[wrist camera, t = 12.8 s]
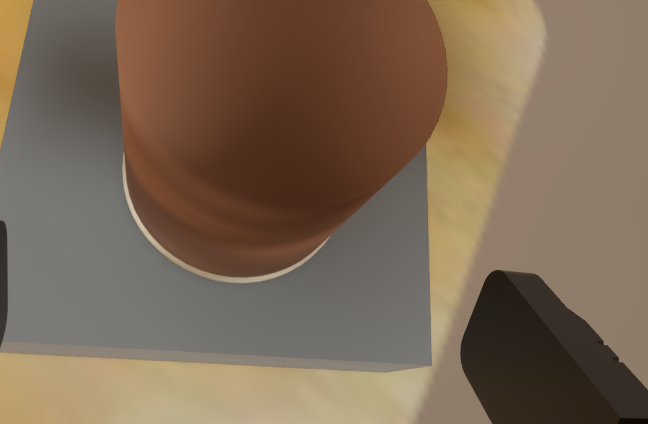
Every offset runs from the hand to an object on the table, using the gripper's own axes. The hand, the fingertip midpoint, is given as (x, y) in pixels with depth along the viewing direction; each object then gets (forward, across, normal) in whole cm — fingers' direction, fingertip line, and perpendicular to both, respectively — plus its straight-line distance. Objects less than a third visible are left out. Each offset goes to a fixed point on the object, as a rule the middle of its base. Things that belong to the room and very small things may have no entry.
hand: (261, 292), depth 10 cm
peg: (+10, 0, +4) cm, 10 cm away
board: (+10, 0, +4) cm, 11 cm away
